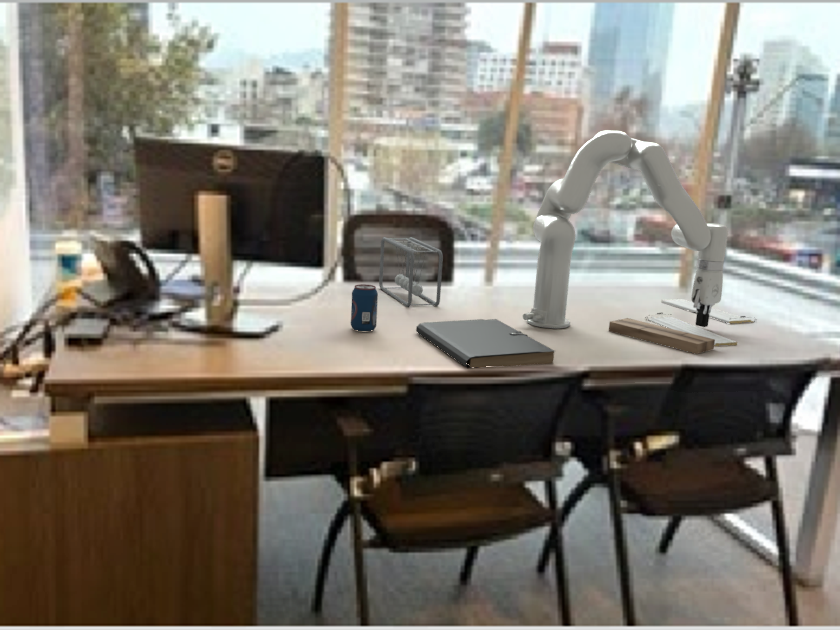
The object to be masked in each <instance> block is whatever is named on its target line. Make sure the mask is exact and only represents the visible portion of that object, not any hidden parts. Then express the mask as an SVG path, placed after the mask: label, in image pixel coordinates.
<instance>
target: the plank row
mask: <svg viewBox="0 0 840 630" xmlns="http://www.w3.org/2000/svg"><path fill="white" fill-rule="evenodd" d="M608 332H609V333H614V334H619V335H622V336H625V335H626V337H629V336H630V338H633V337H634V339H637V338H638V339H637V340H641V339H642V340H641V341H644V340H646V341H645V342H648V341H651V342H650V343H652V342H654V343H653V344H656V343H658V344H657V345H660V344H662V345H661V346H663V345H666V346H665V347H667V346H670V347H669V348H671V347H674V348H673V349H675V348H677V349H676V350H679V349H681V350H680V351H682V350H684V352H686V351H688V352H687V353H690V352H692V353H691V354H694V353H695V354H694V355H699V354H702V352H703V353H706V352H709V351H713V350H714V349H715V348H714V347H715V346H714V343H715V339H711V338H707V337H703V336H699V335H695V334H691V333H686V332H682V331H678V330H674V329H670V328H666V327H663V326H661V325H658V324H655V323H649V322H645V321H641V320H637V319H633V318H628V317H626V318H622V319H621V318H620V319H617V320H611V321H609V325H608Z"/></svg>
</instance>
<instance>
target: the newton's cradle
mask: <svg viewBox="0 0 840 630" xmlns="http://www.w3.org/2000/svg"><path fill="white" fill-rule="evenodd" d="M380 240H381V241H380V256H379V257H380V258H379V275H378V276H379V277H378V281H379V282H378V284H379V288H380V290H381V289H382V290H381V291H383V292H384V291H385V292H384V293H386V294H387V293H388V294H387V295H389V296H390V295H391V297H392V298H393V297H394V298H393V299H394V300H396V299H397V300H396V301H397V302H399V301H400V302H399V303H401V304H402V303H403V304H402V305H404V307H408V308H410V307H411V306H434V305H435V306H434V307H438V306H439V305H440V302H441V289H442V275H443V259H444V256H443V252H442V250H441V249H439V248H437V247H434V246H432V245H430V244H428V243H425V242H423V241H421V240H419V239H417V238H414V237H411V236H410V237H408V238H407V237H405V238H403V237H402V238H401V237H399V238H396V237H395V238H394V237H393V238H392V237H391V238H389V237H385V236H383V237H382V238H381V239H380ZM398 240H405V241H406V244H404V243H402V242H400V241H398ZM385 242H386V243H389V244H390V245H392V246H395V247H396V250H398V249H400V253H402V250H403V253H404V255H405V257H404V262H401V265H402V267H401V268H402V269H404V268H405V272H404V270H402V271H401V272H400V270H401V269H398V272H399V273H398V274H397V275H396V276H395V277H394V283H395V284H396V285H397V286H399V287H386V286H385V287H384V285H383V283H384V282H383V280H384V277H383V276H384V258H385V256H384V255H385ZM415 245H416V249H415V248H414V247H415ZM419 247H420V250H418V249H419ZM423 249H424V250H423ZM417 253H420V254H419V259H418V263H417V266H416V270H415V260H416V256H417ZM422 253H424V258H423V261H422V267H421V270H420V274H419V278H418V282H417V279H416V278H417V276H416V275H417V272H418V267H419V263H420V259H421V256H422V255H421V254H422ZM427 253H437V254H438V269H437V271H438V272H437V285H436V301H434V300H432V298H429V297H428V296H426V295H425V294H423V291H424V289H423V288H424V287H422V285H421V284H419V283H420V280H421V279H420V278H421V275H422V271H423V266H424V262H425V260H426V259H425V258H426V254H427ZM396 255H397V256H396V257H397V258H399V254H398V252H396ZM402 256H403V255H400V258H401V260H403V257H402ZM397 262H398V263H397V264H398V265H397V266H400V264H399V263H400V261H399V260H397ZM403 263H404V264H403ZM389 289H404V290H406V291H408V292H407V293H408V295H407V301H406V300H404V299H403V298H401V297H400V296H398V295H397V294H395V293H393V292H392V291H391V290H389ZM413 296H417V297H419V298H421V297H422V298H421V299H422V300H425V301H426V300H427V301H426V302H427V303H412V301H413ZM429 302H430V303H429Z"/></svg>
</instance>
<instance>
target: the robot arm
mask: <svg viewBox="0 0 840 630" xmlns="http://www.w3.org/2000/svg"><path fill="white" fill-rule="evenodd" d="M610 163H611V164H615V165H617V166H621V167H624V168H628V169H632V170H636V171H640V174H641V176H642V178H643V179H644V182H645V184H646V186H647V187H648V189H649V192H650V193H651V195H652V198H653V200H654V201H655V202H656V204H657V205H659V207H660V208H662V209H663V210H664V211H665V212H667V213H668V214H669V216H671V218H672V219H673V220H674V222H675V223H676V224H675V225H673V227H672V229H671V231H670V233H671V234H670V235H671V239H672V241H673V242H674V243H675V244H676V245H678V246H681V247H682V248H685V249H688V250H691V251H693V252H697V259H696V266H695V270H696V272H695V276H694V280H693V284H692V290H691V296H690V297H691V300H690V301H691V302H693V303H694V306H693V307H694V308H696V312H697V314H696V317H695V326H697V327H700V328H706V327H708V326H709V321H710V318H709V314H708V313H710V312H711V308H713V307H714V306H715V305H716V304H718V303H720V302H721V301H722V296H723V295H722V293H723V284H724V283H723V282H724V275H723V270H724V263H725V258H726V257H725V255H726V251H727V250H726V249H727V243H728V235H729V228H728V227H727V225H725V224H721V223H713V222H711V223H707V221H706V219H705V217H704V215H703V213H702V211H701V210H700V208H699V207H698V205H697V204H696V202H695V201H694V200H693V198H692V197H691V196H690V195H689V193H688V192H687V190H686V189H685V188H684V187H683V185H682V182H681V181H680V178H679V176H678V175H677V173H676V170H675V169H674V167H673V165H672V163H671V160H670V159H669V156H668V155H667V152H666V151H665V148H663V146H662V145H660V144H659V143H657V142H652V141H651V142H650V141H645V140H639V139H636V138H633V137H630V135H628V134H627V133H626V132H624V131H621V130H616V129H615V130H612V129H611V130H610V129H605V130H601V131H598V132H597V133H596V134H595V135H594V136H593V138H590V139H589V140H587V142H585V143H584V144H583V145H582V146H581V147H580V148H579V149H578V150H577V152H576V153H575V155H574V156H573V158H572V159H571V163H570V165H569V166H568V168H567V171H566V173H565V175H564V177H563V178H560V179H557V180H555V181H554V182H553V183H552V184H551V185H550V186H549V187H548V189H547V191H546V193H545V196H544V197H543V200H542V201H541V205H540V207H539V209H538V212H537V214H536V216H535V219H534V222H533V226H532V231H533V234H534V237H535V239H536V240H537V241H538V242H539V243H540V244H539V245H540V246H539V251H538V257H537V260H536V261H537V263H536V272H535V273H536V275H535V284H534V285H535V287H534V295H533V296H534V297H533V307H532V308H531V309H530V310H531V311H530V312H526V313H524V314H523V315H522V319H523V320H524V321H526V322H527V323H528V324H529V325H531V326H535V327H538V328H544V329H545V328H546V329H564V328H568V327H570V326H571V321H570V320H569V319H567V318H566V314H567V306H568V305H567V303H568V295H569V293H568V292H569V282H570V273H571V272H570V271H571V263H572V257H573V252H574V251H573V250H574V247H575V243H576V230H575V227H574V225H573V223H572V222H571V221H570V220H569V219H570V218H571V215H575V214H579V213H580V212H581V211H582V210H584V208H585V207H586V205H587V202H588V200H589V198H590V195H591V192H592V190H593V188H594V186H595V183H596V181H597V178H598V177H599V175H600V173H601V172H602V170H603V169H604V168H605V167H606V166H607V165H608V164H610Z"/></svg>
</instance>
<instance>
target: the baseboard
mask: <svg viewBox="0 0 840 630" xmlns="http://www.w3.org/2000/svg"><path fill="white" fill-rule="evenodd" d="M656 315H658V316H656V317H655V316H651V317H650V318H648V316H646V317H644V319H645V321H649V322H651V321H652V322H651V323H653V322H654V323H653V324H656V323H657V324H656V325H658V324H660V325H659V326H661V325H662V327H663V326H665V327H667V328H670V329H674V330H678V331H682V332H686V333H691V334H695V335H699V336H703V337H707V338H711V339H715V343H714V347H720V346H719V345H728V346H737V345H738V342H737V341H735V340H732V339H730V338H727V337H725V336H722V335H719V334H717V333H715V332H713V331H709V330H707V329H705V328H703V327H700V326H697V325H694V324H691V323H690V322H688V321H687V322H686V321H683V320H681V319H679V318H676V317H673V316H663V315H665V314H664V312H657V313H656ZM659 315H661V316H659Z"/></svg>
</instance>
